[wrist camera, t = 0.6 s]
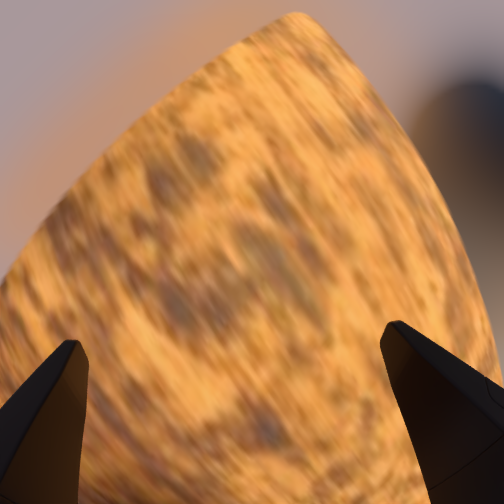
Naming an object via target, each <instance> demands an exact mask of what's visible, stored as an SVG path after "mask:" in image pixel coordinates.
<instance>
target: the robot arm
mask: <svg viewBox="0 0 504 504" xmlns="http://www.w3.org/2000/svg"><path fill="white" fill-rule="evenodd" d="M380 349H381V352H382V355H383V359H384V362H385V366H386V369H387V373H388V377H389V380H390V384H391V387H392V390H393V393H394V395H395V398H396V400H397V403H398V406H399V408H400V411H401V414H402V416H403V419H404V422H405V425H406V427H407V430H408V433H409V436H410V439H411V442H412V445H413V447H414V450H415V453H416V456H417V459H418V462H419V466H420V469H421V472H422V475H423V478H424V481H425V485H426V488H427V491H428V495H429V499H430V502H431V504H504V389H503V388H502V387H500V386H499V385H497V384H496V383H494V382H493V381H491V380H490V379H488V378H487V377H484V375H483V374H481V373H480V372H478V371H477V370H475V369H474V368H472V367H471V366H469V365H468V364H466V363H465V362H463V361H462V360H460V359H459V358H457V357H456V356H454V355H453V354H451V353H450V352H448V351H447V350H445V349H444V348H442V347H441V346H439V345H438V344H436V343H435V342H433V341H432V340H430V339H429V338H427V337H426V336H424V335H423V334H421V333H420V332H418V331H417V330H415V329H413V328H412V327H410V326H409V325H407V324H406V323H404V322H403V321H401V320H397V321H391V322H389V323H388V324H387V325H386V328H385V330H384V333H383V335H382V337H381V340H380ZM88 372H89V361H88V358H87V356H86V354H85V351H84V349H83V347H82V345H81V343H80V342H79V341H78V340H69V339H67V340H65V341H64V342H63V343H62V344H61V345H60V346H59V347H58V348H57V349H56V350H55V351H54V352H53V353H52V354H51V355H50V356H49V357H48V358H47V359H46V360H45V361H44V362H43V363H42V364H41V365H40V366H39V367H38V368H37V369H36V370H35V371H34V372H33V373H32V375H31V376H30V377H29V378H28V379H27V380H26V381H25V382H24V383H23V384H22V385H21V386H20V387H19V389H18V390H17V391H16V392H15V393H14V394H13V395H12V396H11V397H10V398H9V400H8V401H7V402H6V403H5V404H4V405H3V406H2V407H1V409H0V504H78V484H79V470H80V458H81V449H82V440H83V432H84V424H85V417H86V405H87V386H88Z"/></svg>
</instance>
